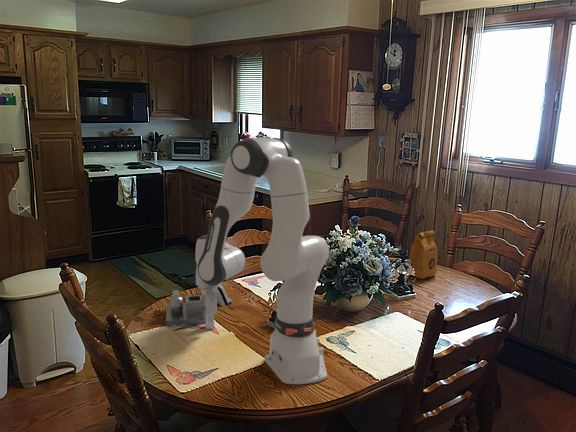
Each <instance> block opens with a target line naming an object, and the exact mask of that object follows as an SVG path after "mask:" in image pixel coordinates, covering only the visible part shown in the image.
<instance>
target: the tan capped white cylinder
mask: <svg viewBox="0 0 576 432" xmlns="http://www.w3.org/2000/svg"><path fill="white" fill-rule="evenodd" d="M202 303H203V308H205V306H204V300H203V299H202ZM204 312H205V323H204V327H205V330H206V331H208V330H215V314H214V315H213V322H208V317H207V316H208V315H207V314H206V311H205V310H204Z"/></svg>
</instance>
